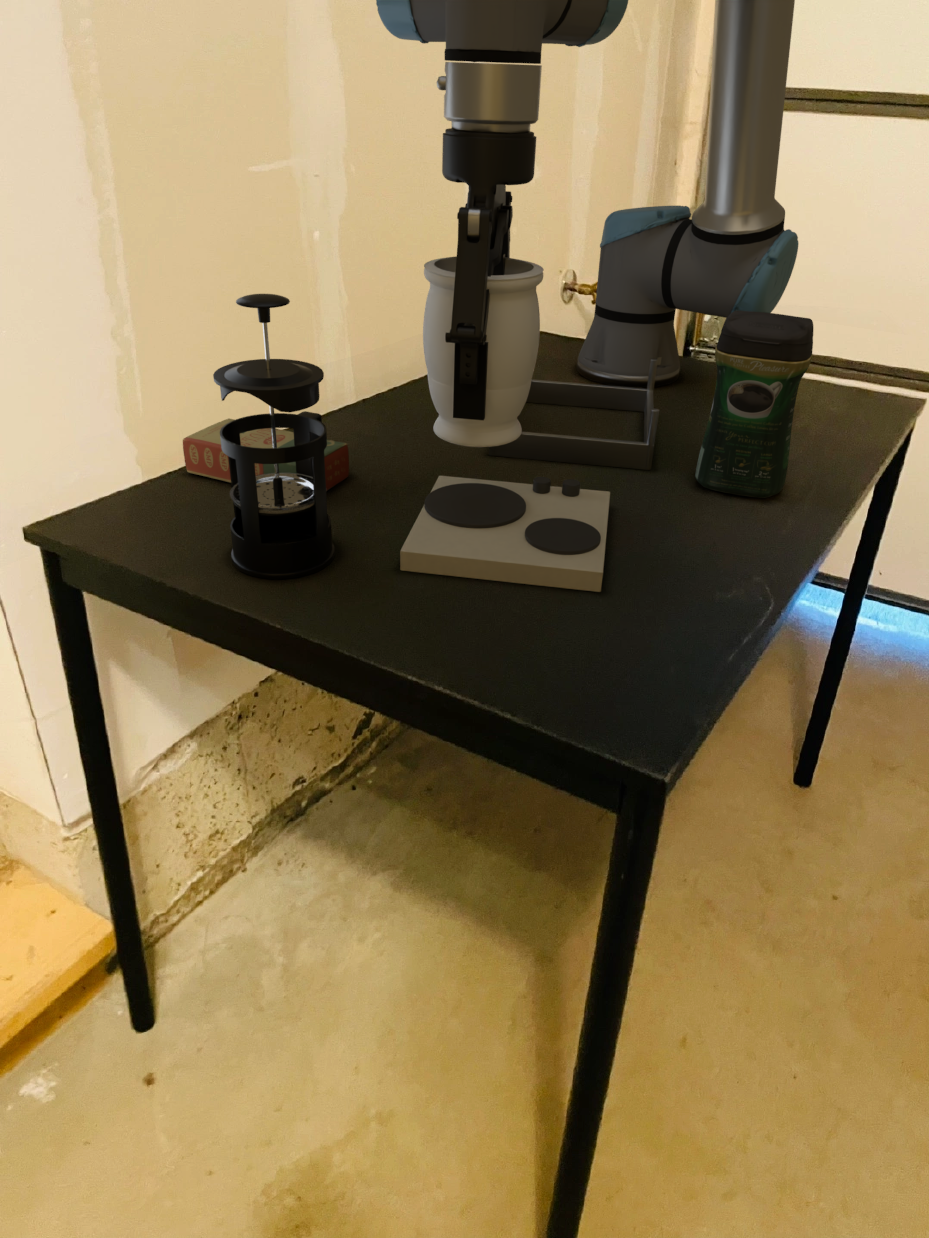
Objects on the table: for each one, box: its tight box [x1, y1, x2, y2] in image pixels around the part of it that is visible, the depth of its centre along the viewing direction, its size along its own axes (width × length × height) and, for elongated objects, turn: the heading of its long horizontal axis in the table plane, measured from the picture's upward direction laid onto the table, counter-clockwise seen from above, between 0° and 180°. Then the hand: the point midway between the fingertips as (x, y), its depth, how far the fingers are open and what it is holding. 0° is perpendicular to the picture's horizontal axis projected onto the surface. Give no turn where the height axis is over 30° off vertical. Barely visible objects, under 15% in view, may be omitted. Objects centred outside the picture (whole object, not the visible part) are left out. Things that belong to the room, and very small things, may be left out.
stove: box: [399, 475, 611, 593], centre depth 88 cm, size 18×18×3 cm
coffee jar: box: [694, 310, 814, 499], centre depth 97 cm, size 10×8×19 cm
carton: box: [182, 418, 350, 492], centre depth 99 cm, size 8×16×4 cm, turn 65°
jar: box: [422, 255, 544, 448], centre depth 82 cm, size 11×10×15 cm
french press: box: [212, 293, 336, 580], centre depth 78 cm, size 12×9×23 cm
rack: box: [488, 359, 660, 471], centre depth 113 cm, size 22×19×7 cm
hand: (479, 398), depth 84 cm, fingers closed on jar, 11 cm apart
